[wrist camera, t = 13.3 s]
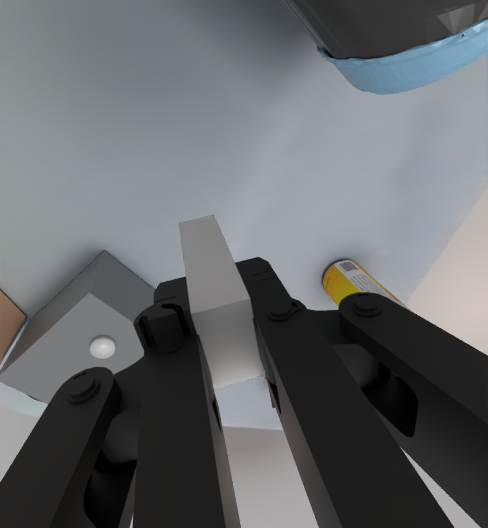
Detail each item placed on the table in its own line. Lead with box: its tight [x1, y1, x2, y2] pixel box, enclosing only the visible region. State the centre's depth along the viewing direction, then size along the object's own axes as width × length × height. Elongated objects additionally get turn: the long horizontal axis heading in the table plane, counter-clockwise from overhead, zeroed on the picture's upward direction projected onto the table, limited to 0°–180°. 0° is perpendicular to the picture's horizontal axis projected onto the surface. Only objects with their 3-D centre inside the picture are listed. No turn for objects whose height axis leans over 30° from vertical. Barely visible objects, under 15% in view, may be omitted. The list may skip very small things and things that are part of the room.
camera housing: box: [0, 250, 156, 404], centre depth 39 cm, size 16×10×11 cm, turn 130°
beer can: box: [323, 260, 412, 312], centre depth 44 cm, size 6×6×15 cm
